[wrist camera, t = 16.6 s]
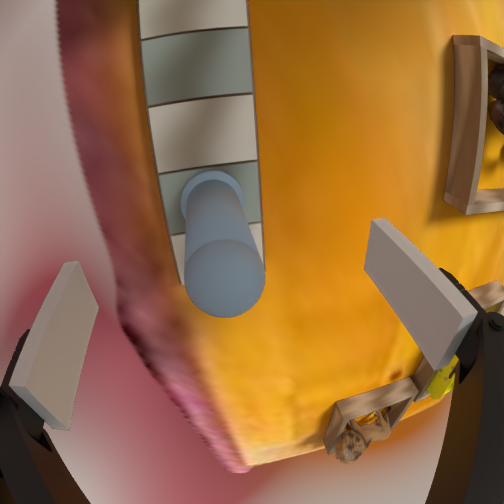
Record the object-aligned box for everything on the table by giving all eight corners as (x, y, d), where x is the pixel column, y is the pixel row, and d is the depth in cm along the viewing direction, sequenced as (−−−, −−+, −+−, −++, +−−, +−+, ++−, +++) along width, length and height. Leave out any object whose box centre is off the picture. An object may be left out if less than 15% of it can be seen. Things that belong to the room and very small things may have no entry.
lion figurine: (319, 430, 47) (336, 471, 39) (327, 417, 44) (346, 460, 37) (385, 410, 50) (403, 444, 42) (395, 396, 47) (417, 432, 40)
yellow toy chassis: (439, 365, 45) (461, 397, 38) (416, 375, 44) (437, 410, 37) (471, 299, 36) (503, 335, 29) (447, 309, 36) (480, 348, 29)
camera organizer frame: (496, 280, 36) (510, 292, 33) (452, 367, 47) (460, 380, 44) (449, 297, 34) (464, 313, 31) (406, 388, 46) (414, 402, 43)
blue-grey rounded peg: (239, 165, 20) (283, 247, 10) (244, 221, 22) (283, 331, 13) (177, 174, 19) (161, 265, 10) (186, 230, 21) (185, 347, 12)
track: (242, -24, 14) (246, -31, 12) (262, 263, 26) (266, 273, 24) (139, -12, 13) (135, -19, 12) (180, 275, 25) (179, 286, 24)
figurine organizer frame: (409, 376, 43) (418, 391, 40) (384, 420, 52) (390, 433, 49) (336, 401, 42) (343, 419, 39) (323, 440, 51) (328, 454, 48)
